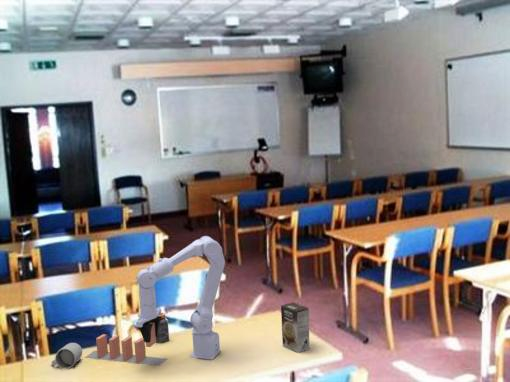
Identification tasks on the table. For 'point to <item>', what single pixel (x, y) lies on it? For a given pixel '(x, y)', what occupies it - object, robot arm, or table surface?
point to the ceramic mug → (68, 355)
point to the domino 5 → (152, 336)
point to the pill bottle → (163, 330)
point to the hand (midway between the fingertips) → (150, 339)
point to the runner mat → (146, 361)
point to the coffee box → (295, 327)
